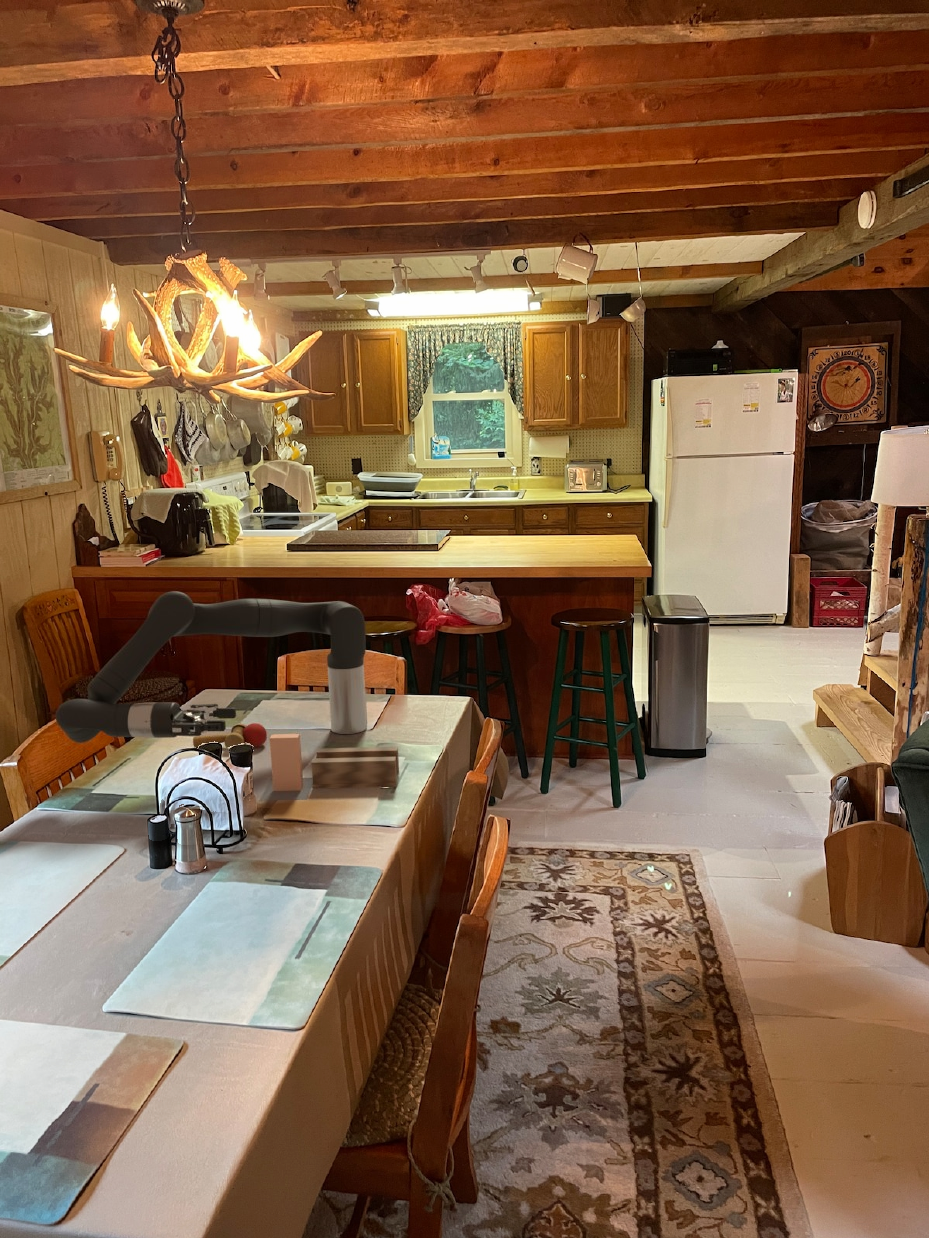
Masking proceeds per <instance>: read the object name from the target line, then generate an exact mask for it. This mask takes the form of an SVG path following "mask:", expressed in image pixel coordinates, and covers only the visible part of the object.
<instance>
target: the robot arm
mask: <svg viewBox="0 0 929 1238" xmlns="http://www.w3.org/2000/svg"><path fill="white" fill-rule="evenodd" d="M301 632H304V633H305V632H306V633H317V634H318V633H319V634H325V635H330V652H329V653H328V654H327V657H326V662H327V663H326V664H327V665H326V666H327V679H328V680H327V682H328V695H329V697H328V698H329V715H330V730H331V731H332V732H333V733H334V734H335V733H336V734H339V735H353V734H359V733H361V732H364V731H365V730H366V729H368V712H367V690H366V684H365V683H366V682H365V667H364V665H365V662H364V657H365V655H366V651H367V650H366V643H367V642H366V621H365V617H364V614H363V612H362V611H361V610H360V609H359V608H358V607H357V606H355V605H353V604H350V603H348V602H346V601H341V600H337V601H335V600H333V601H324V602H297V601H289V600H283V599H282V600H280V599H269V598H240V599H233V600H228V601H222V602H216V603H206V604H205V603H194V602H193V600H192V599H191V598H190V596H189V595H188V594H186V593H184V592H181V591H175V590H173V591H168V592H165V593H163V594H161V595H160V596H159V597H157V598H156V600H155V601H154V602H153V604H152V605H151V607H150V609H149V611H148V614H147V618H146V619H145V621H144V622H143V624H142V625H141V626H140V627H139V628H138V630H137V631H136V632H135V634H134V635H133V636H132V637H131V638H129V640H128V641H127V642H126V643H125V645H123V646H122V647H121V649H119V651H118V652H116V653H115V655H113V657H112V658H111V659H110V660H108V662H106V664H105V665H104V666H103V667H102V668H101V669H100V671H99V672H98V673H96V674H95V676H94V677H93V678H92V680H91V681H90V682H89V684H88V685H87V690H86V691H87V695H88V696H87V698H74V699H70V700H67V701H65V702H63V703H61V704H60V705H59V706H58V707H57V708H56V711H55V718H54V719H55V722H56V723H57V725H58V726H59V728H60V729H61V730H62V732H64V734H65V735H66V736H67V737H68V738H69V739H70V740H71V741H72V742H74V743H77V744H83V743H86V742H89V741H91V740H93V739H94V738H95V737H96V736H98V735H99V733H100V732H102V733H104V734H105V735H107V736H109V737H113V738H140V739H141V738H144V739H155V738H158V739H159V738H160V739H161V738H163V739H165V738H167V739H168V738H169V739H170V738H174V739H175V738H176V737H179V736H180V737H184V736H185V737H187V736H189V737H195V736H202V734H206V733H207V732H224V731H225V730H226V728H227V727H226V726H227V725H226V720H225V719H235V718H236V717H237V709H236V708H235V707H219V704H217V703H211V704H210V703H209V704H191V705H190V706H189V708H187V709H184V710H183V709H181V706H180V704H179V703H177V702H175V701H174V702H173V701H170V702H167V701H166V702H163V701H162V702H140V703H118V704H117V702H118V701H119V700H120V699H121V698H122V697H123V696H124V694H125V693H126V692H127V691H128V689H129V688H130V687H131V686H132V685H133V684H134V682H135V681H136V679H137V678H138V677H139V676H140V675H141V674H142V672H143V671H144V670H145V668H146V666H148V664H149V663H150V661H151V660H152V659H153V658H154V656H155V655H156V654H157V653H158V652H159V651H160V649H161V648H162V647H164V645H165V644H166V643H168V642H169V641H170V640H171V639H172V638H173V637H183V636H193V635H194V636H195V635H222V636H235V637H236V636H237V637H253V638H254V637H255V638H256V637H257V638H259V637H260V638H272V637H281V636H285V635H290V634H294V633H301Z"/></svg>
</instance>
